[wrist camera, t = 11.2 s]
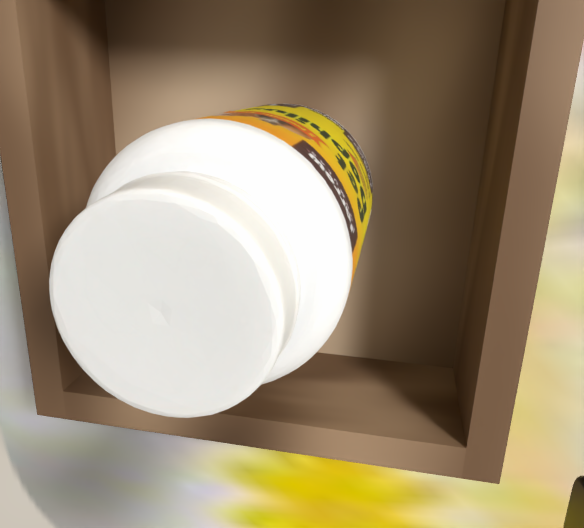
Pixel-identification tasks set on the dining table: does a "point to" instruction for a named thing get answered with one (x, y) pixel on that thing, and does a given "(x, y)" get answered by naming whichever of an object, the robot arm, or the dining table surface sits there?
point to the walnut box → (385, 210)
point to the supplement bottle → (213, 257)
